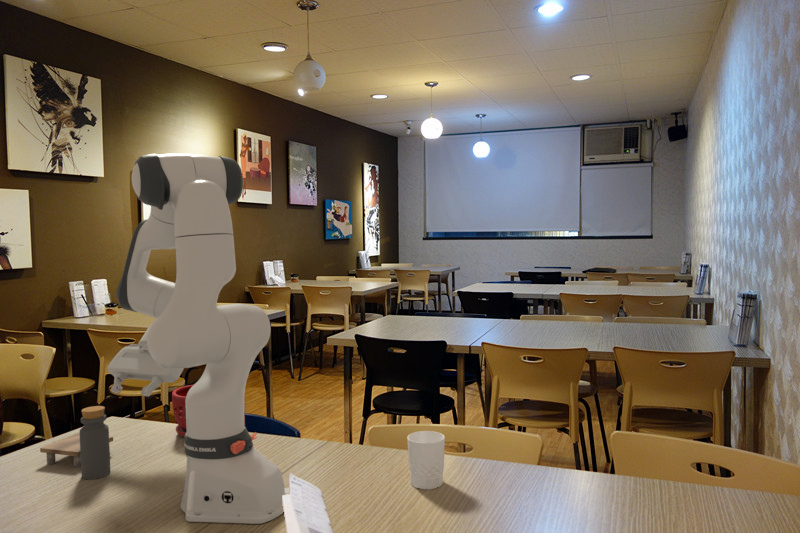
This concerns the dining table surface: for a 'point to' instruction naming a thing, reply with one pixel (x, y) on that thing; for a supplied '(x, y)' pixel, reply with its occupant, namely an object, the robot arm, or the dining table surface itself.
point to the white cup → (426, 459)
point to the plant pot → (179, 412)
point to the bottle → (94, 443)
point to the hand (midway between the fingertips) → (129, 393)
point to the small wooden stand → (65, 449)
